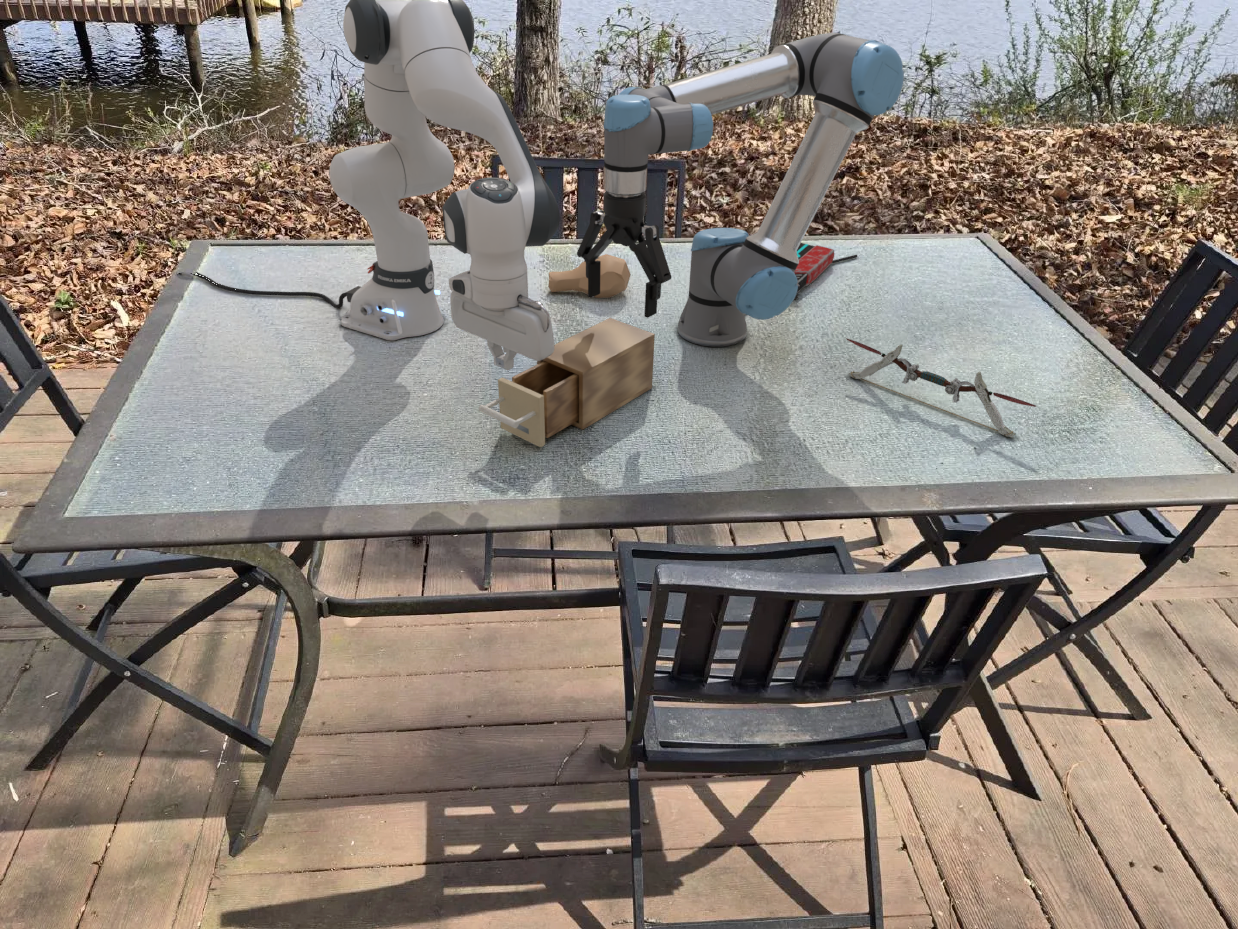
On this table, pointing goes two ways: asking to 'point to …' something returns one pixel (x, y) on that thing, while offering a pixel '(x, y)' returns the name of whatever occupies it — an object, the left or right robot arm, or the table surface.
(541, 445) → the drawer
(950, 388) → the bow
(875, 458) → the table surface
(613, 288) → the squash
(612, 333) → the cabinet
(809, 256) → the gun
